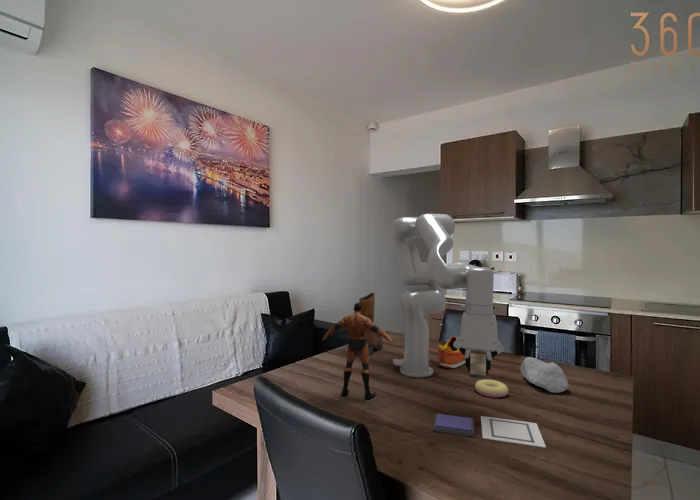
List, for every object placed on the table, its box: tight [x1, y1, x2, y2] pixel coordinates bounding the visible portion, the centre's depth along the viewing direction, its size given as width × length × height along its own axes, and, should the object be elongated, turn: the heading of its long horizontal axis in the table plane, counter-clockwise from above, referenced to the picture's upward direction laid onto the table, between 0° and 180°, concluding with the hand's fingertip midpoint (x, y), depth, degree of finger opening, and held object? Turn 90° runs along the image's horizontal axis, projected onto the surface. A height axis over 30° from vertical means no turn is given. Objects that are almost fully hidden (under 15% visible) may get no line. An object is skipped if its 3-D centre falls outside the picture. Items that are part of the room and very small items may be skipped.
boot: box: [357, 292, 384, 357], centre depth 167 cm, size 25×9×27 cm, turn 152°
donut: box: [474, 378, 509, 399], centre depth 116 cm, size 10×5×9 cm
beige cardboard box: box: [469, 349, 487, 380], centre depth 103 cm, size 4×4×7 cm
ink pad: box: [432, 413, 475, 438], centre depth 93 cm, size 10×8×1 cm
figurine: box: [322, 301, 396, 402], centre depth 113 cm, size 24×6×30 cm, turn 71°
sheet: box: [480, 415, 547, 449], centre depth 91 cm, size 14×12×1 cm
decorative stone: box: [520, 356, 569, 394], centre depth 122 cm, size 17×10×10 cm
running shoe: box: [437, 336, 466, 369], centre depth 148 cm, size 10×28×11 cm, turn 138°
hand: (477, 370), depth 103 cm, fingers closed on beige cardboard box, 4 cm apart
